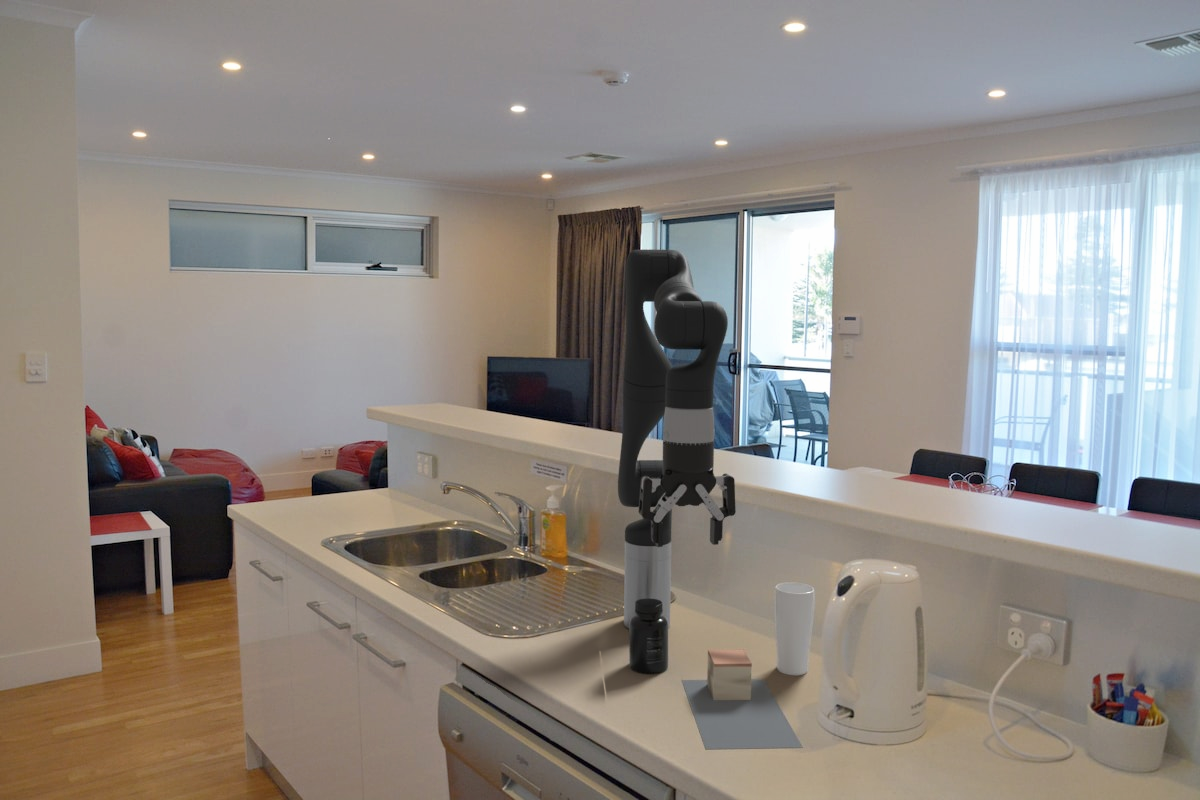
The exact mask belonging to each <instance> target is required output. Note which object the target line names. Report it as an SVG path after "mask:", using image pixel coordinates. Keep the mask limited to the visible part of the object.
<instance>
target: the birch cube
mask: <svg viewBox="0 0 1200 800" xmlns="http://www.w3.org/2000/svg"><path fill="white" fill-rule="evenodd" d="M706 678H707V679H706V680H707V685H708V688H709V690H710V693H711V695H712V697H713V700H751V679H752V661H751V659H750V658H749V656H748V655H747V652H746V651H745V649H708V650H707V677H706Z"/></svg>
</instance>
